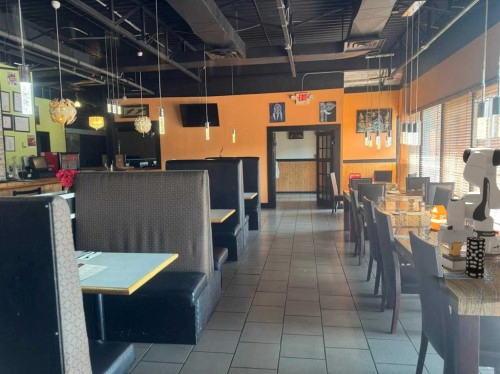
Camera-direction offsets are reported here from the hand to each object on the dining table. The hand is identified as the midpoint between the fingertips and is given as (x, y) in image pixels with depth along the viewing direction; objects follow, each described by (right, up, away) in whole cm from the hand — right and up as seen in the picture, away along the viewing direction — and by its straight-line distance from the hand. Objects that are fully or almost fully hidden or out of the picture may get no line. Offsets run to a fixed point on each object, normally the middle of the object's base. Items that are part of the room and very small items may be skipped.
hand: (454, 249), depth 214 cm
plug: (0, -3, 0) cm, 3 cm away
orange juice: (+45, 0, +107) cm, 116 cm away
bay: (+3, -10, +1) cm, 10 cm away
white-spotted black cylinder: (+2, -11, -16) cm, 20 cm away
